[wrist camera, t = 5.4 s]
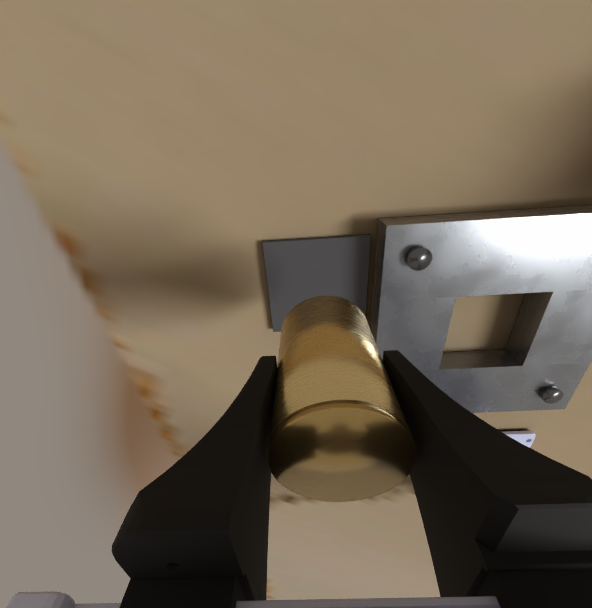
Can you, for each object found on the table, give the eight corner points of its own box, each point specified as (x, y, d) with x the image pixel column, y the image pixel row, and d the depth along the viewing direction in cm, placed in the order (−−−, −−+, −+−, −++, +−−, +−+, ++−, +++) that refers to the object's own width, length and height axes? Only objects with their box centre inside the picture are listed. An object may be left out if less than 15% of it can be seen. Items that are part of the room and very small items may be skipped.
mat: (363, 324, 22) (364, 327, 22) (273, 328, 22) (273, 331, 22) (369, 234, 19) (370, 236, 18) (262, 240, 19) (262, 242, 18)
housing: (546, 390, 25) (569, 413, 23) (364, 398, 26) (371, 421, 24) (638, 202, 18) (687, 209, 15) (378, 218, 18) (389, 227, 16)
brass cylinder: (368, 364, 16) (410, 498, 10) (287, 370, 16) (279, 505, 10) (368, 291, 14) (423, 404, 8) (275, 300, 14) (255, 417, 8)
